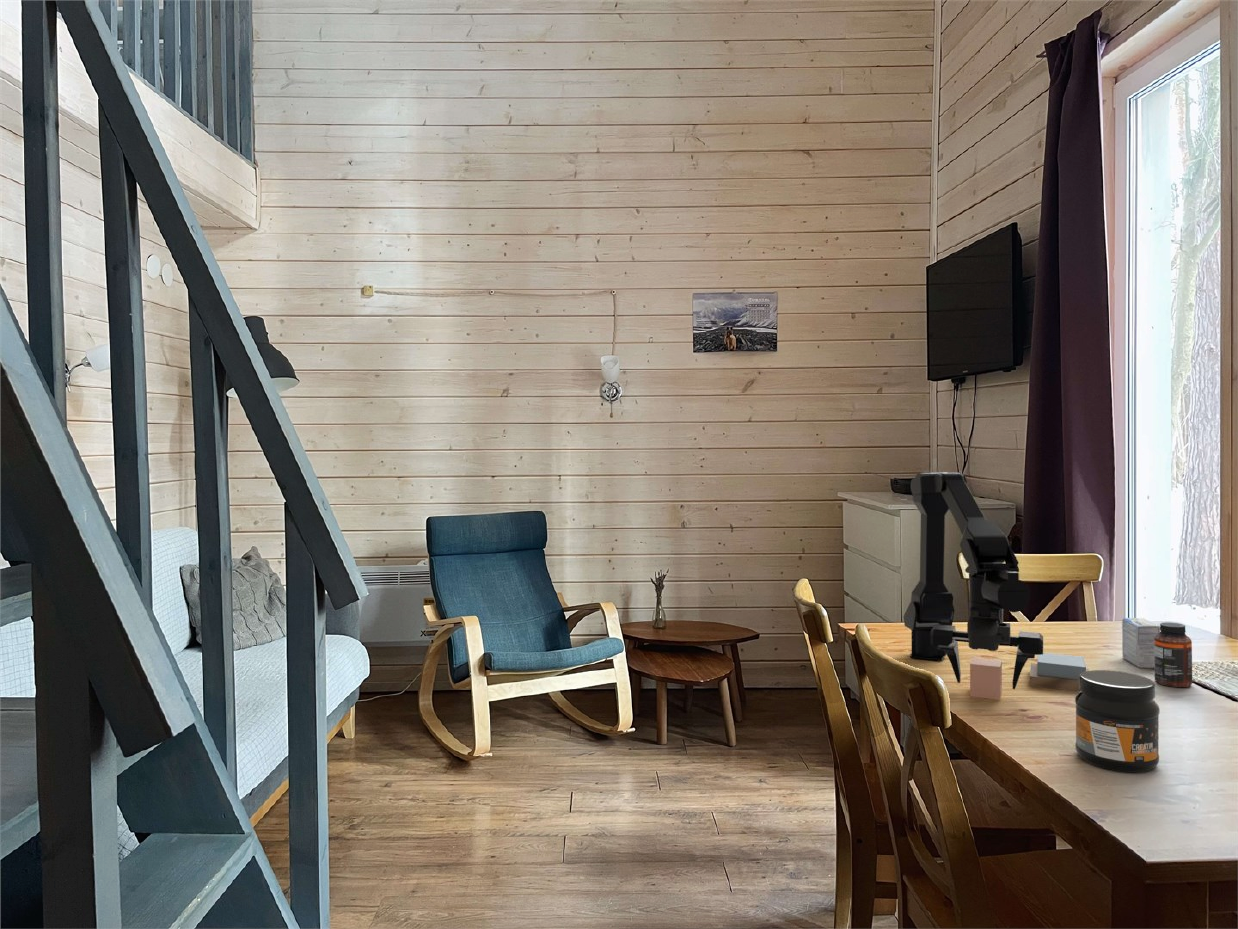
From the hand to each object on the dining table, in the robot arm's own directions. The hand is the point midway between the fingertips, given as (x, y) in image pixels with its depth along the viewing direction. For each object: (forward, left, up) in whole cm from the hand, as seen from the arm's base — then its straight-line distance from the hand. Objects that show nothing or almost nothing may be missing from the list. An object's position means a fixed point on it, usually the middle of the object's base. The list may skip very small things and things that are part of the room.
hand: (986, 685), depth 153 cm
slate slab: (+12, +14, 0) cm, 19 cm away
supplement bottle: (+31, +21, -2) cm, 37 cm away
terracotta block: (0, 0, -2) cm, 2 cm away
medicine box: (+27, +35, -2) cm, 44 cm away
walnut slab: (+12, +14, -2) cm, 19 cm away
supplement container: (+19, -26, -2) cm, 32 cm away
